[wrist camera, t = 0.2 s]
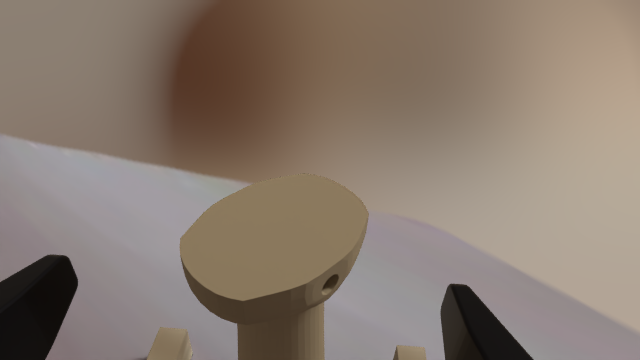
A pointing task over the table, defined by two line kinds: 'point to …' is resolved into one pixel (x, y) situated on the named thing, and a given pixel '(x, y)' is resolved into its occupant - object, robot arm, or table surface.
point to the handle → (275, 261)
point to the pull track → (175, 352)
